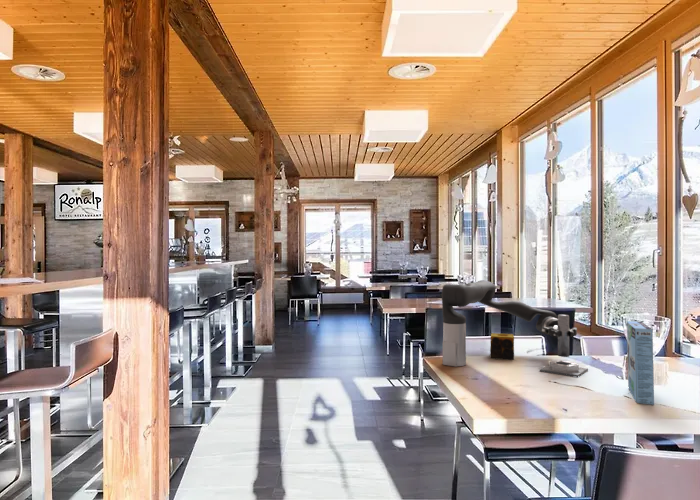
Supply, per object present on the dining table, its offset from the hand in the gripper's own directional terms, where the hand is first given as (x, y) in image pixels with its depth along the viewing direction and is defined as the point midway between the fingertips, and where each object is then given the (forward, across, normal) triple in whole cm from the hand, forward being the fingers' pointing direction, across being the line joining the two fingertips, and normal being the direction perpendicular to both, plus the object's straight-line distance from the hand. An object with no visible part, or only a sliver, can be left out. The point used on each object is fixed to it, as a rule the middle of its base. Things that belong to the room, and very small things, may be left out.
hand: (565, 334), depth 183 cm
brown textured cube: (-25, -21, +15) cm, 36 cm away
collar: (-2, 0, +15) cm, 15 cm away
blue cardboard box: (+29, +16, +15) cm, 36 cm away
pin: (-3, 0, +9) cm, 9 cm away
